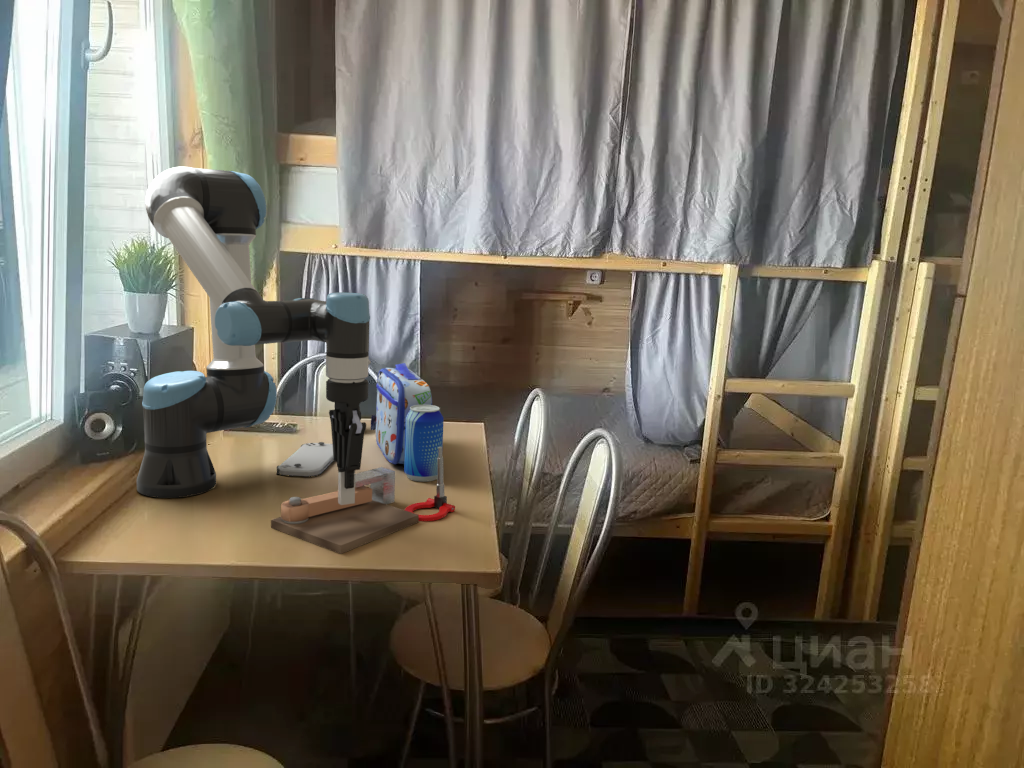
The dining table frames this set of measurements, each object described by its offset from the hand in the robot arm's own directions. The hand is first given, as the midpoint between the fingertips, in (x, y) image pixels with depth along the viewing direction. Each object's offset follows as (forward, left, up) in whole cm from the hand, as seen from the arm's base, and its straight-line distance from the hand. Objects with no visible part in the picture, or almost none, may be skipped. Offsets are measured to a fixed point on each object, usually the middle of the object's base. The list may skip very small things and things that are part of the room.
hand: (346, 502), depth 147 cm
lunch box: (-24, +41, -4) cm, 47 cm away
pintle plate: (+1, -1, -4) cm, 4 cm away
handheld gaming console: (-34, +22, -5) cm, 41 cm away
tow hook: (+8, +14, -4) cm, 17 cm away
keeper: (-4, +10, -4) cm, 11 cm away
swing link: (-4, -1, -2) cm, 5 cm away
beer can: (-8, +31, -4) cm, 33 cm away
